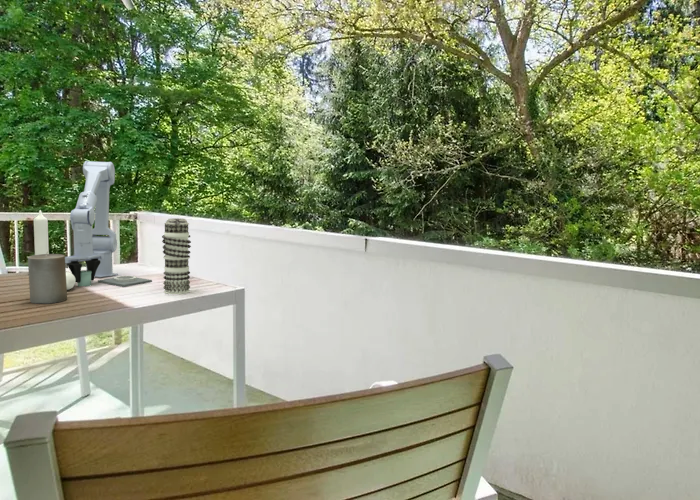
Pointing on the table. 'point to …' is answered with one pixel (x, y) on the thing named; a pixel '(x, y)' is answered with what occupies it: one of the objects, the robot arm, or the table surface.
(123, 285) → the socket board
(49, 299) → the pillar candle
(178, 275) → the decorative candle
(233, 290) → the table surface
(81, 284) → the cup
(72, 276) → the lightbulb
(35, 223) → the candle
